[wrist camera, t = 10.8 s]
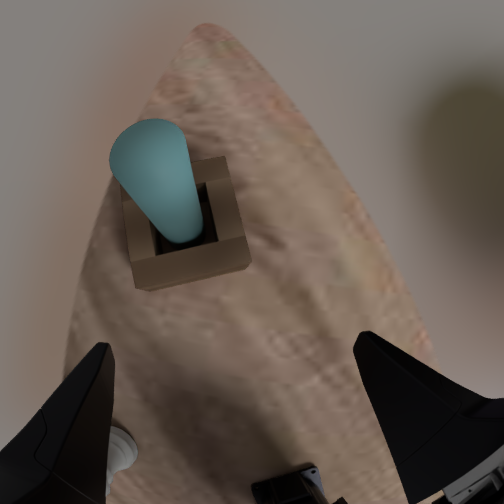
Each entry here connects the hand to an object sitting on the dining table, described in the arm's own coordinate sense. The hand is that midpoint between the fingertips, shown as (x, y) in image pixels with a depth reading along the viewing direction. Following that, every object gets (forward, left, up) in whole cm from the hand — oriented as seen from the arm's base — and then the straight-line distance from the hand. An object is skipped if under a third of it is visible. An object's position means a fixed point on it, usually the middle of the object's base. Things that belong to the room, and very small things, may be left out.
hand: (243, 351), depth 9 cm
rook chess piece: (-9, +13, -14) cm, 21 cm away
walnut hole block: (+8, +2, -14) cm, 16 cm away
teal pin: (+8, +2, -13) cm, 15 cm away
